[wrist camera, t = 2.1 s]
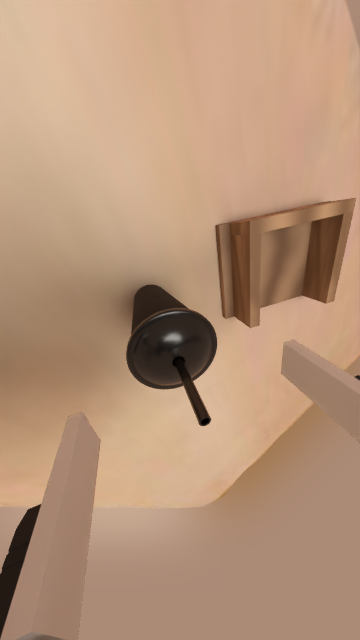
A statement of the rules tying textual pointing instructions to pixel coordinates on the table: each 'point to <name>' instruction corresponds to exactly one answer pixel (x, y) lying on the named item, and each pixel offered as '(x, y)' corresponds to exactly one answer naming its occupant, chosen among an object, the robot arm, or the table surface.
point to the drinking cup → (170, 345)
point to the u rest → (282, 257)
